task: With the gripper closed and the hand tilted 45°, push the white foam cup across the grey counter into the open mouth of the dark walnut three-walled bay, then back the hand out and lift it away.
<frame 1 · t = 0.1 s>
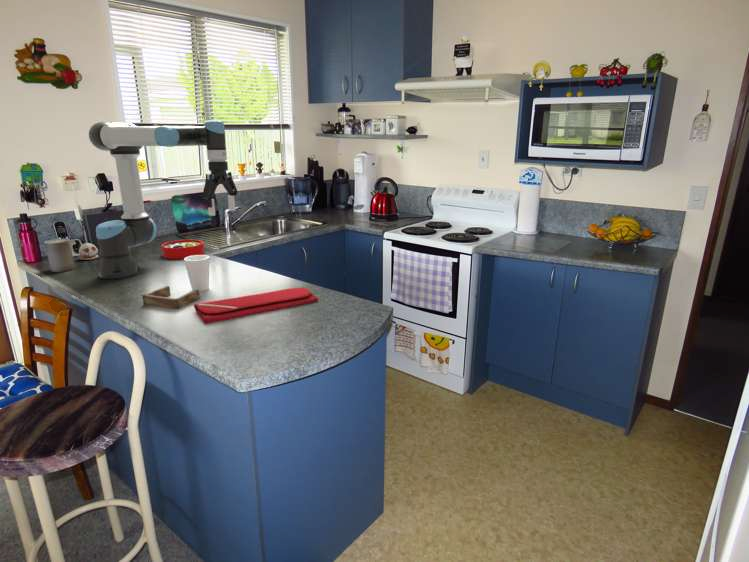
hand: (222, 213, 200), 28 cm above the counter, tool pointing down, fingers open, 13 cm apart
pillar candle: (63, 269, 222), on the counter
red round bowl: (184, 255, 249), on the counter
foam cup: (200, 289, 192), on the counter
decorative ornament: (89, 259, 241), on the counter
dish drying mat: (258, 307, 173), on the counter
cup bay: (173, 300, 179), on the counter
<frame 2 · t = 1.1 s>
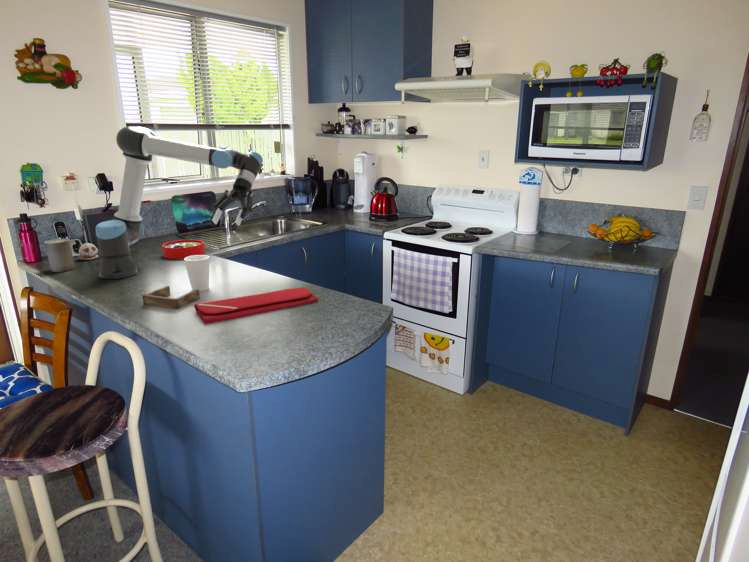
hand: (225, 223, 203), 23 cm above the counter, tool tilted 45°, fingers open, 11 cm apart
nothing on the counter moved.
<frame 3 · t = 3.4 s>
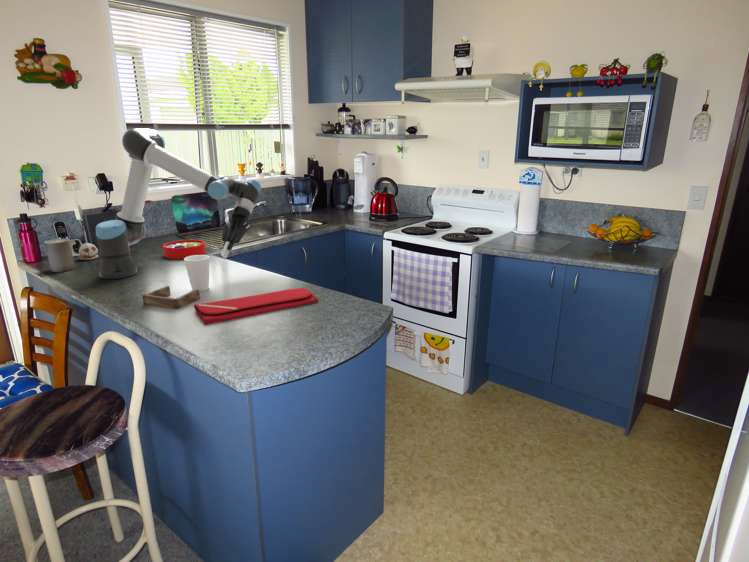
hand: (223, 256, 202), 10 cm above the counter, tool tilted 45°, fingers closed
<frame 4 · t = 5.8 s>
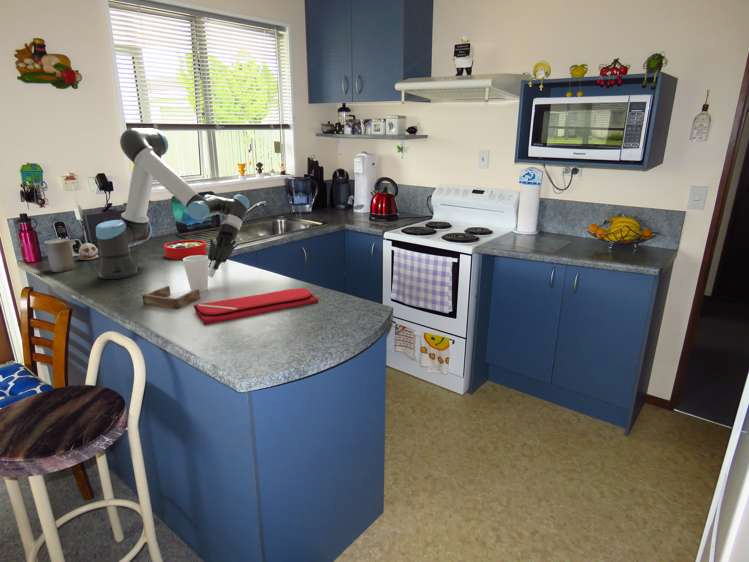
hand: (209, 275, 195), 4 cm above the counter, tool tilted 45°, fingers closed
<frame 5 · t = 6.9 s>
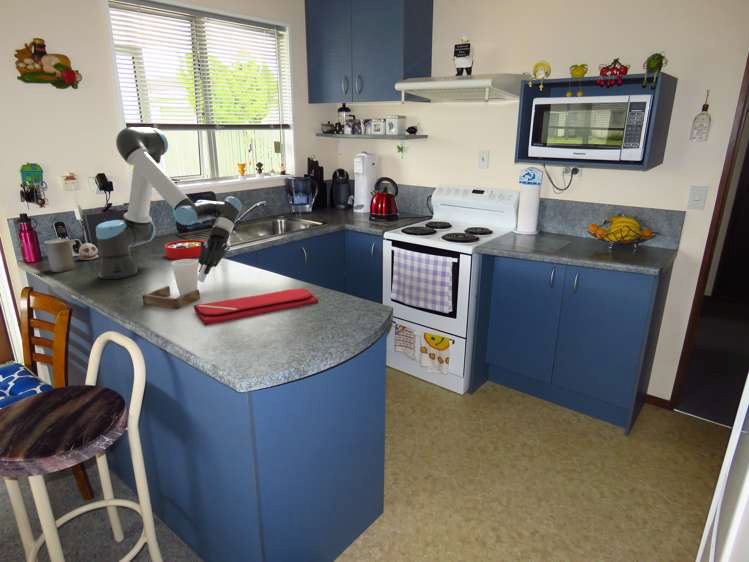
hand: (200, 280, 190), 4 cm above the counter, tool tilted 45°, fingers closed
foam cup: (188, 294, 186), on the counter
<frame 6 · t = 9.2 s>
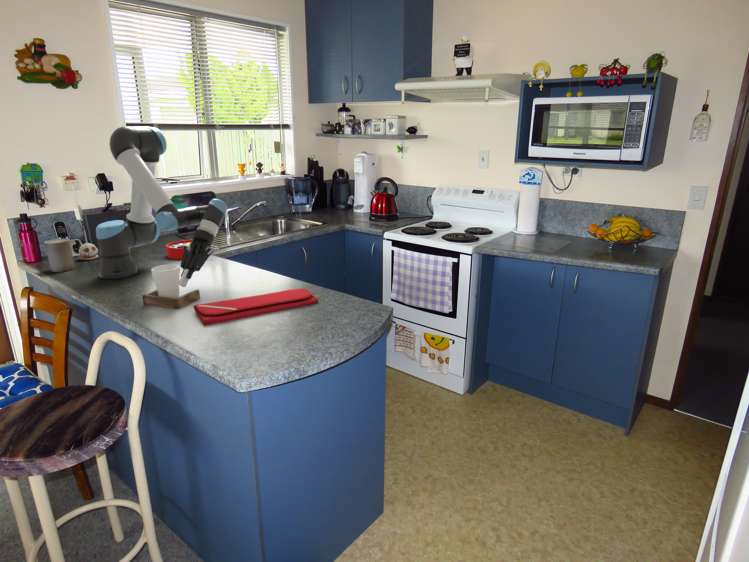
hand: (181, 285, 182), 5 cm above the counter, tool tilted 45°, fingers closed
foam cup: (170, 301, 178), on the counter, touching cup bay, gripper
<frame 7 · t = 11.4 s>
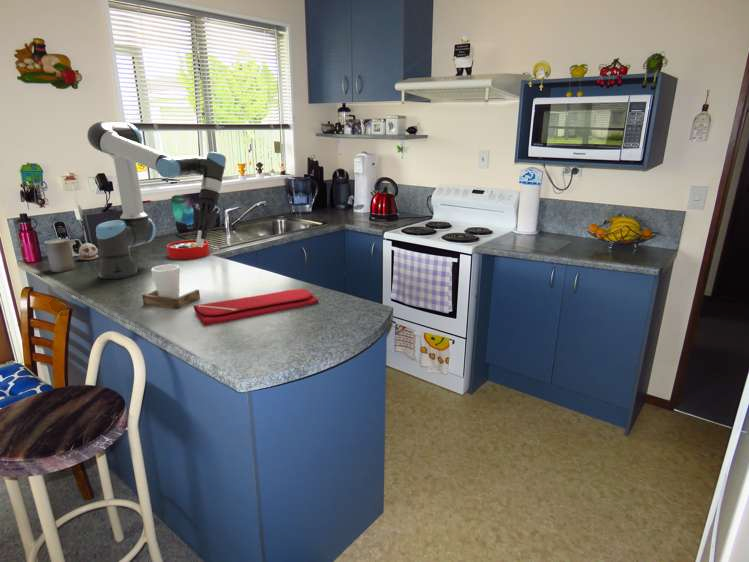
hand: (199, 246, 196), 16 cm above the counter, tool tilted 20°, fingers closed
foam cup: (170, 301, 179), on the counter
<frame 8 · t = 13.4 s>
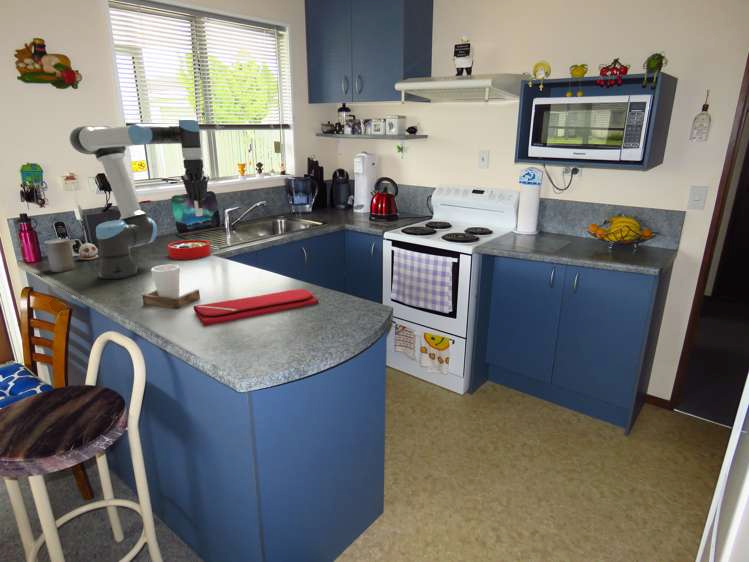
hand: (199, 215, 203), 26 cm above the counter, tool pointing down, fingers closed
at the end: foam cup 1.2 cm from the cup bay (horizontally); foam cup tilted 0°; foam cup moved 15.8 cm from its start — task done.
